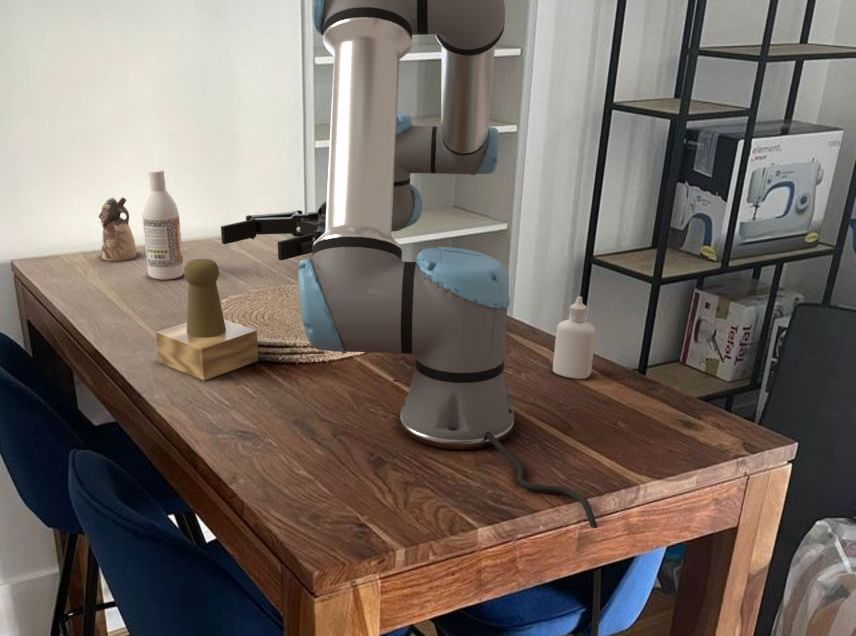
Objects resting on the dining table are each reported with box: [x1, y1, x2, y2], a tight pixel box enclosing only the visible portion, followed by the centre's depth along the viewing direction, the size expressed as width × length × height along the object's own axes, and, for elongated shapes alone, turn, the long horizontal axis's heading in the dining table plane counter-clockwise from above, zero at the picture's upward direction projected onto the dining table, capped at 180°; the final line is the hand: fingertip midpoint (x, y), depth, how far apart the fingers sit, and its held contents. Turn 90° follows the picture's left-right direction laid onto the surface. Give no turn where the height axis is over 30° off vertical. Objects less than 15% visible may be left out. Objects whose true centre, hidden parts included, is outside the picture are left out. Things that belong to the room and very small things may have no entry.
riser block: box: [155, 318, 259, 381], centre depth 158 cm, size 11×11×5 cm
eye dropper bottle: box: [552, 295, 596, 380], centre depth 150 cm, size 4×6×12 cm
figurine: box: [98, 196, 137, 262], centre depth 208 cm, size 7×7×12 cm
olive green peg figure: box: [183, 258, 226, 338], centre depth 154 cm, size 6×6×11 cm
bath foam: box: [141, 168, 185, 281], centre depth 194 cm, size 7×7×20 cm
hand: (250, 243), depth 157 cm, fingers open, 13 cm apart
